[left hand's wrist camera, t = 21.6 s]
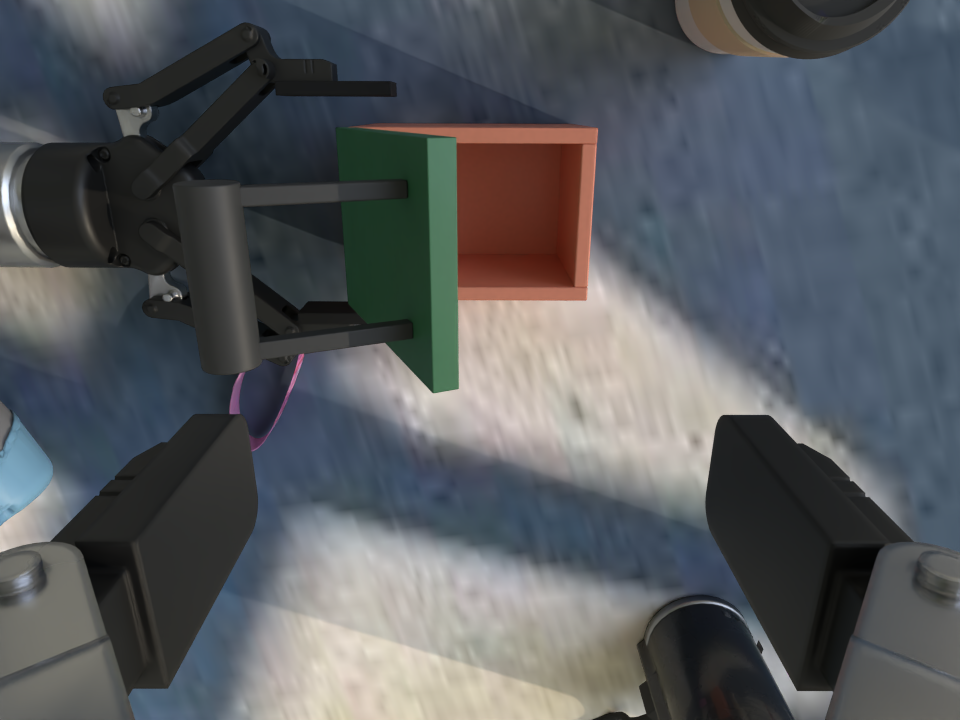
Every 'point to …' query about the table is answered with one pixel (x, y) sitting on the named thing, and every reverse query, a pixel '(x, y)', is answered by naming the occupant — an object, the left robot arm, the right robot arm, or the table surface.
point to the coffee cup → (784, 25)
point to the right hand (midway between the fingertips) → (399, 207)
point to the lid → (368, 256)
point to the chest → (520, 207)
